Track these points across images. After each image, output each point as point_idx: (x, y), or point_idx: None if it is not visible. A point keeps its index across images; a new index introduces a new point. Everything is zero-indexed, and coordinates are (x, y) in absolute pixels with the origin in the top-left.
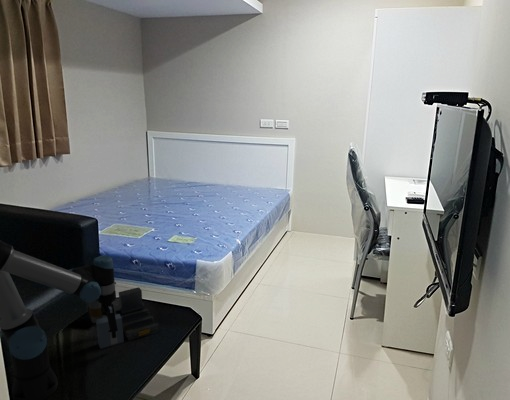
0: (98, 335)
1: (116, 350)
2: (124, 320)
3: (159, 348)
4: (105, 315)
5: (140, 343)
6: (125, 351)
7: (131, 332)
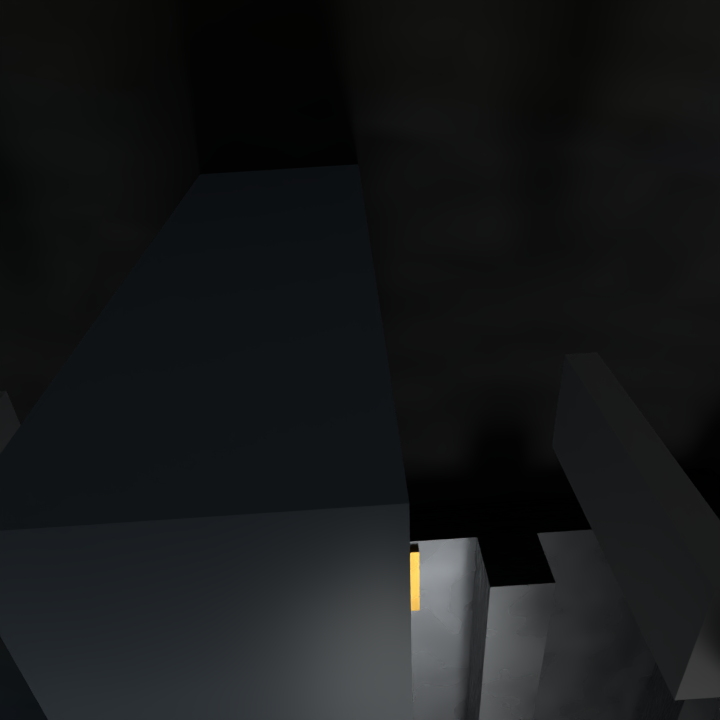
0: (210, 258)
1: None
2: None
3: (4, 702)
4: (700, 643)
5: None
6: None
7: None
